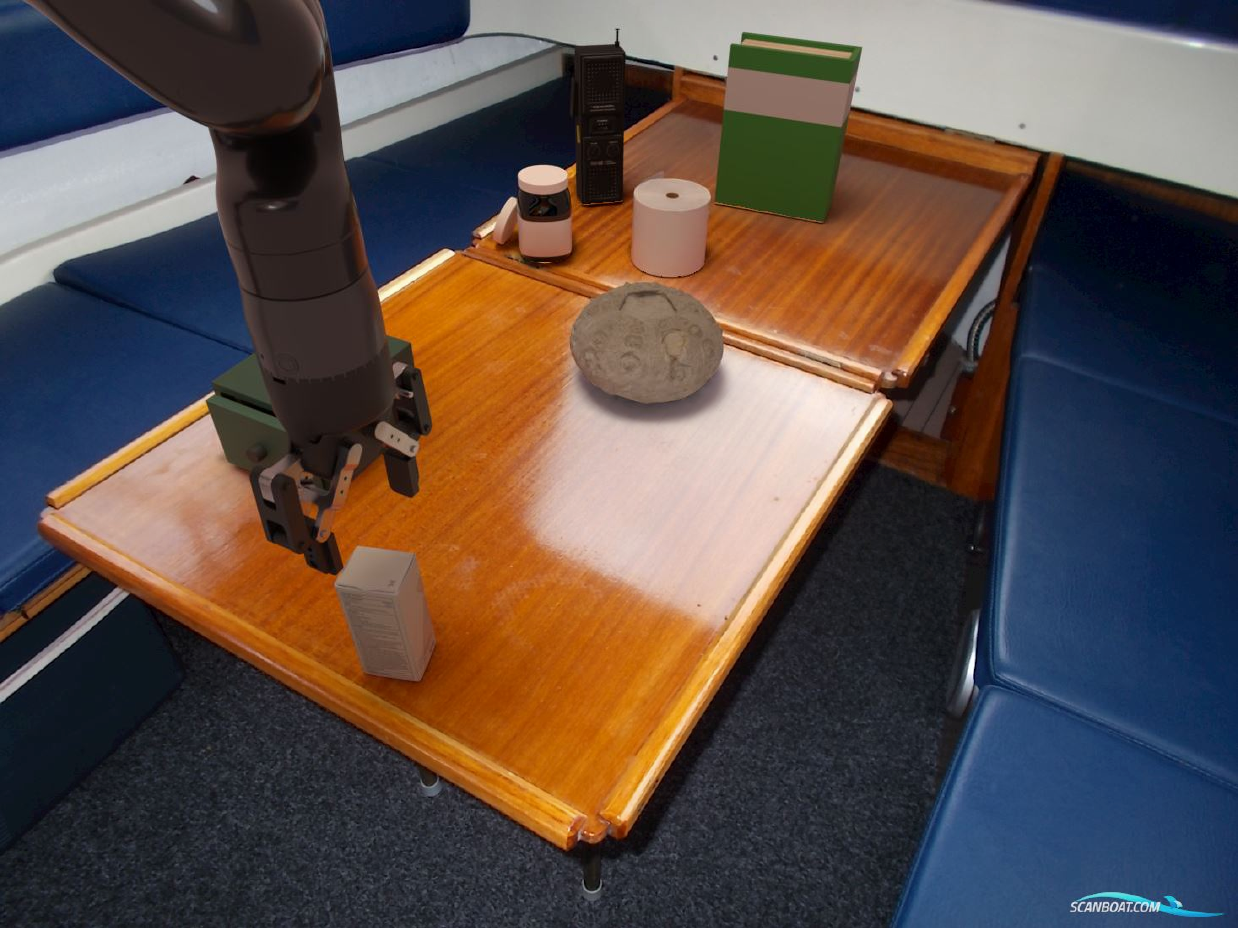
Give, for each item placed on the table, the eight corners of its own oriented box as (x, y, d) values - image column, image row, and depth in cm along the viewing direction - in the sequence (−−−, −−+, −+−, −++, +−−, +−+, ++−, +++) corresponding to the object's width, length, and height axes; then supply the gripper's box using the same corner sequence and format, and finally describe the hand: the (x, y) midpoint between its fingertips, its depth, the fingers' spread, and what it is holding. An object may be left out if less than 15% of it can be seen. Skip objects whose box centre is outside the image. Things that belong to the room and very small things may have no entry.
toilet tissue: (666, 286, 119) (670, 218, 112) (609, 253, 125) (610, 187, 119) (719, 263, 124) (727, 196, 118) (663, 233, 131) (666, 168, 124)
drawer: (307, 506, 84) (288, 443, 78) (218, 468, 87) (195, 407, 82) (401, 422, 94) (390, 362, 88) (318, 392, 97) (303, 332, 92)
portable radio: (576, 209, 136) (574, 39, 120) (568, 193, 141) (566, 27, 124) (624, 204, 138) (629, 36, 121) (615, 189, 142) (618, 25, 126)
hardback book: (714, 204, 139) (730, 45, 123) (726, 187, 144) (743, 31, 128) (822, 224, 134) (854, 61, 119) (831, 205, 140) (862, 47, 124)
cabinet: (334, 497, 86) (313, 420, 79) (237, 457, 90) (210, 381, 84) (423, 416, 96) (411, 342, 89) (332, 384, 100) (314, 311, 94)
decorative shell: (750, 379, 103) (761, 306, 96) (646, 444, 93) (650, 368, 87) (643, 320, 112) (646, 250, 105) (539, 374, 103) (535, 300, 96)
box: (438, 641, 73) (420, 552, 66) (419, 684, 70) (400, 595, 62) (379, 632, 74) (355, 542, 66) (358, 673, 70) (331, 584, 63)
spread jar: (575, 268, 122) (574, 189, 114) (495, 272, 121) (489, 192, 113) (567, 229, 131) (566, 154, 123) (492, 232, 130) (486, 156, 122)
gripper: (349, 270, 57) (388, 455, 68) (179, 383, 47) (256, 577, 58) (443, 298, 55) (468, 485, 65) (284, 422, 45) (344, 618, 56)
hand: (368, 528), depth 62 cm, fingers open, 8 cm apart
